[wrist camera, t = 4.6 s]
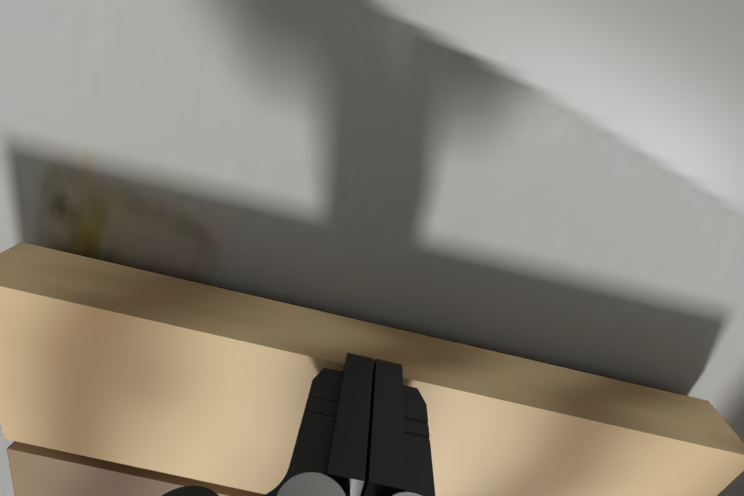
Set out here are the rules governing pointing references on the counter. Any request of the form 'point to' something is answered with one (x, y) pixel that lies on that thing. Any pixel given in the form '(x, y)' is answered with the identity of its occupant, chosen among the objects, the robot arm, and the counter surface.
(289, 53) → the counter surface
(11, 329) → the board
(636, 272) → the counter surface
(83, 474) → the laid floor
